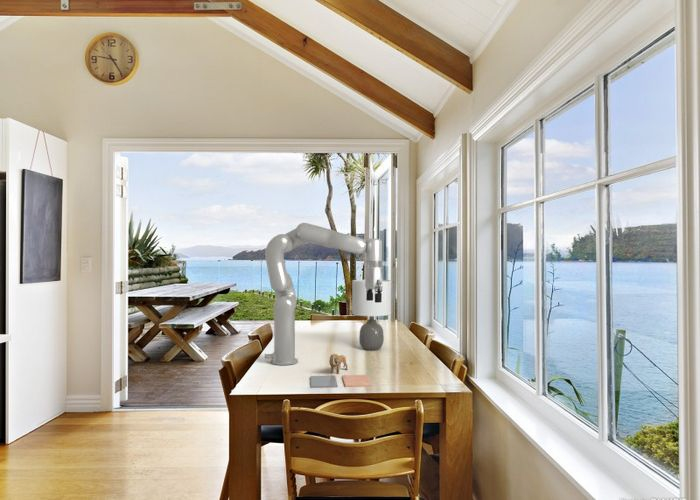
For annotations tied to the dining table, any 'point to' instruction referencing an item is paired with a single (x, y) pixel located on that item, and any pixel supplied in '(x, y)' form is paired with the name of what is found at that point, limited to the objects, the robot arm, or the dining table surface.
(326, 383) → the slate tile
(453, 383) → the dining table surface
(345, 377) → the terracotta tile
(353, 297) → the lamp
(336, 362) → the lion figurine
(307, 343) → the dining table surface
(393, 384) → the dining table surface
